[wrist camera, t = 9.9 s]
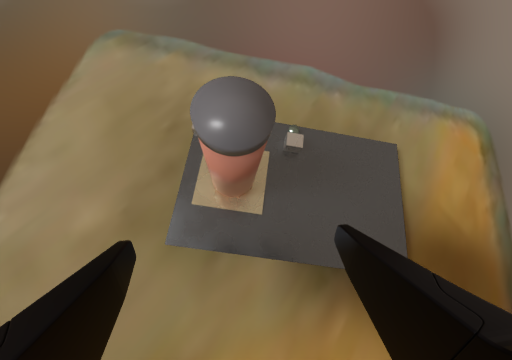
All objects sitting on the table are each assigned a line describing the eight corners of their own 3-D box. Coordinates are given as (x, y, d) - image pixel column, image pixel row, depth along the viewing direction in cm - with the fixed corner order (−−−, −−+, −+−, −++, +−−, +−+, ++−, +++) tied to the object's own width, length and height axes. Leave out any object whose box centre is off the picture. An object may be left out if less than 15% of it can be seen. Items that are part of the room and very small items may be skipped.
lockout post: (245, 204, 21) (258, 162, 10) (203, 187, 21) (174, 128, 10) (260, 165, 22) (286, 94, 12) (221, 150, 22) (212, 65, 12)
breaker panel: (397, 275, 22) (421, 280, 19) (169, 244, 20) (159, 244, 17) (387, 149, 26) (405, 138, 24) (202, 116, 25) (198, 100, 22)
